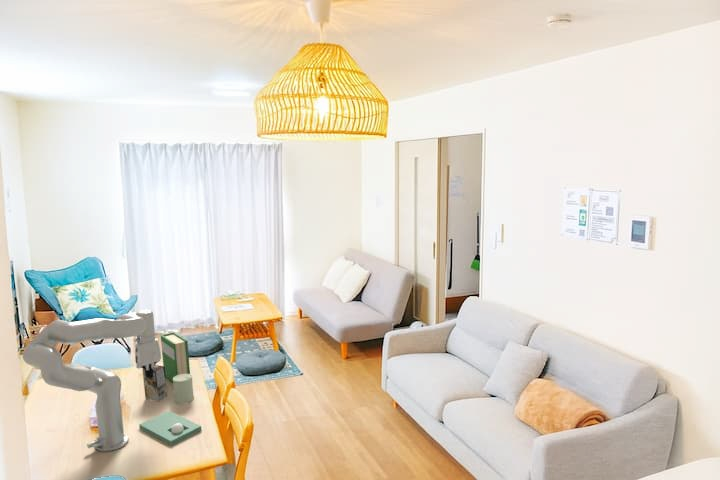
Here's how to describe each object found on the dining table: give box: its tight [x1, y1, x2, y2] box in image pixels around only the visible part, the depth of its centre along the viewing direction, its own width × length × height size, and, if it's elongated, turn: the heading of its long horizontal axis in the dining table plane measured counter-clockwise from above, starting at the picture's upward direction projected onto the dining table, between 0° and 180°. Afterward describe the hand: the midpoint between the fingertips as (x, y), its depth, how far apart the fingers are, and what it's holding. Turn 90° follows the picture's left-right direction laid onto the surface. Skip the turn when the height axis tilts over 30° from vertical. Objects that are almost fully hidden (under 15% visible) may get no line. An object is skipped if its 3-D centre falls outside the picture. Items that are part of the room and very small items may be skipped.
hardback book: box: [160, 331, 191, 385], centre depth 283 cm, size 18×7×24 cm, turn 41°
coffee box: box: [141, 364, 168, 403], centre depth 264 cm, size 9×6×16 cm
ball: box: [171, 423, 184, 435], centre depth 229 cm, size 5×5×5 cm
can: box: [172, 373, 195, 405], centre depth 262 cm, size 9×9×12 cm
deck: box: [138, 410, 202, 446], centre depth 234 cm, size 15×24×2 cm, turn 53°
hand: (149, 377), depth 237 cm, fingers closed
